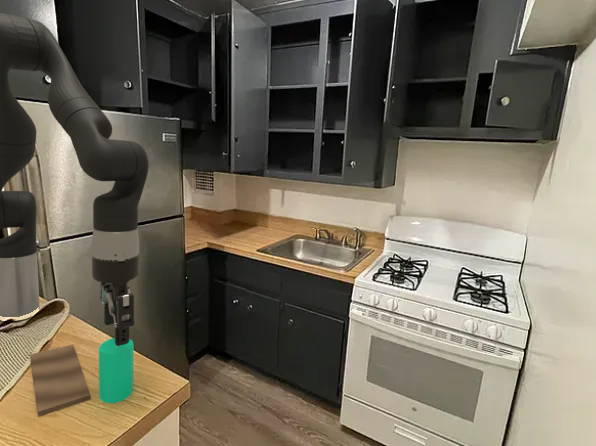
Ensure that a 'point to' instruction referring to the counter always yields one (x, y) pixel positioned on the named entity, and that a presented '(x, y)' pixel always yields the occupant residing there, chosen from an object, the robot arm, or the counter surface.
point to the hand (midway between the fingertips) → (116, 333)
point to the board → (58, 379)
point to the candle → (115, 371)
